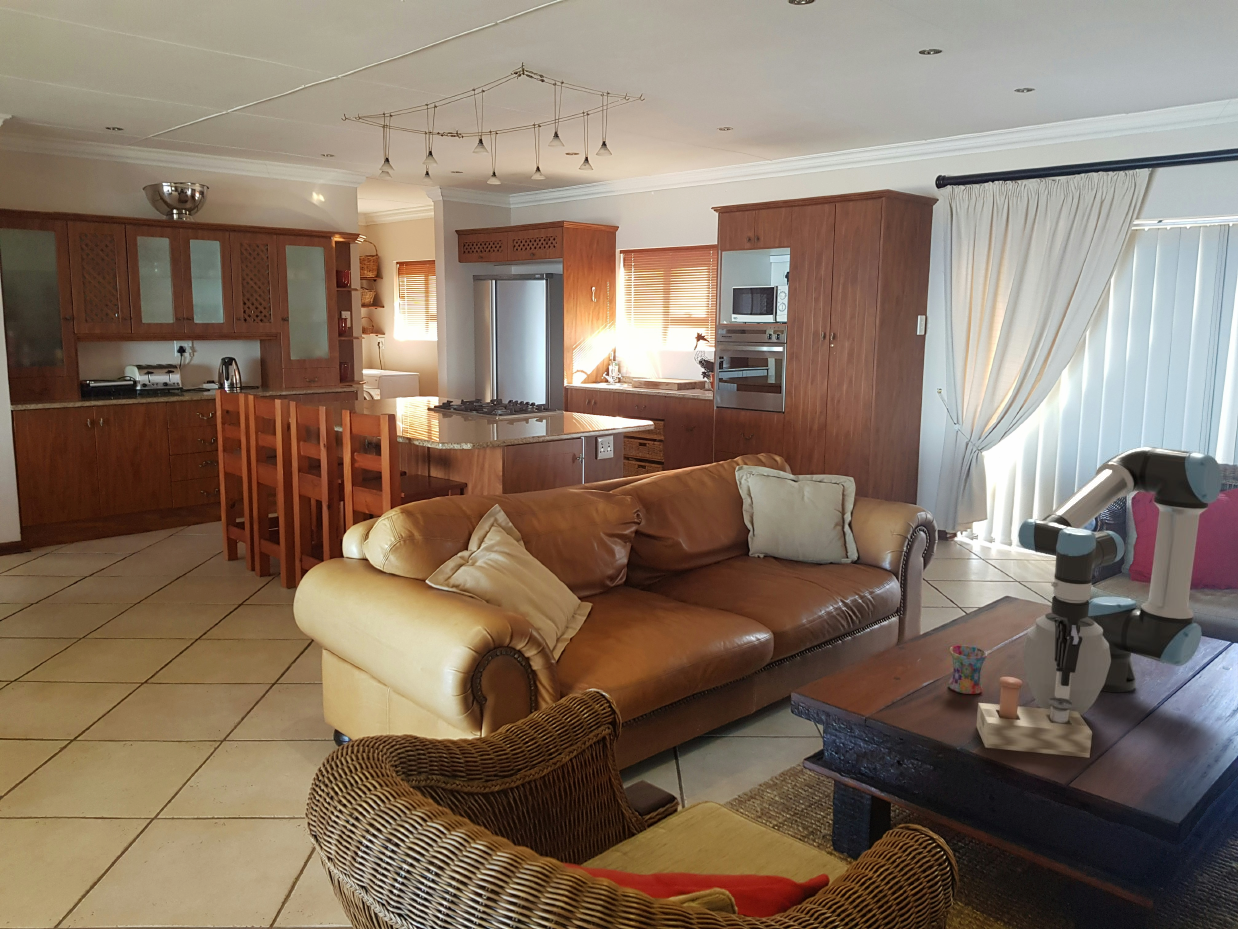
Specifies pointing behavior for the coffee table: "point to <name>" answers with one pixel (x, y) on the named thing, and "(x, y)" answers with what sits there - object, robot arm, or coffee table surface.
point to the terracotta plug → (1009, 697)
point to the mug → (967, 669)
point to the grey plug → (1059, 710)
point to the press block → (1033, 731)
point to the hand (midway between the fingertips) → (1061, 696)
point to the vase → (1043, 667)
